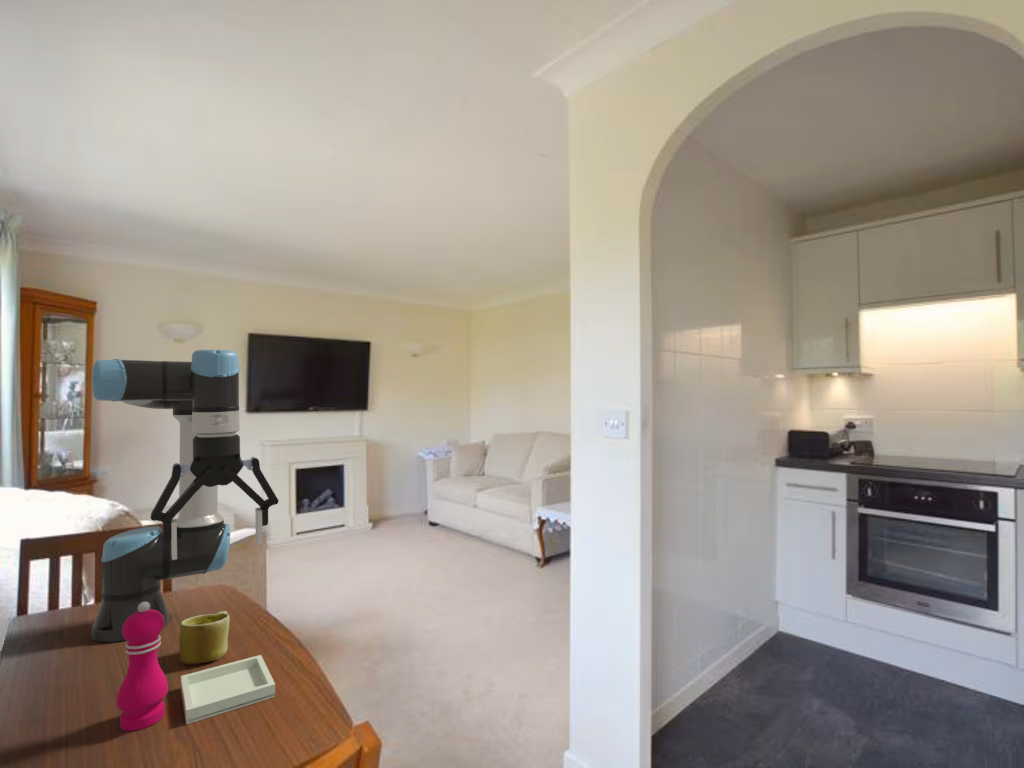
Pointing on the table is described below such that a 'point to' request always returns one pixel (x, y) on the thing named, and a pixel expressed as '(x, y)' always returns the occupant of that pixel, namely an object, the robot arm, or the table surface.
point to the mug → (204, 638)
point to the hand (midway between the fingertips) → (218, 550)
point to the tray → (226, 688)
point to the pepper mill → (142, 671)
